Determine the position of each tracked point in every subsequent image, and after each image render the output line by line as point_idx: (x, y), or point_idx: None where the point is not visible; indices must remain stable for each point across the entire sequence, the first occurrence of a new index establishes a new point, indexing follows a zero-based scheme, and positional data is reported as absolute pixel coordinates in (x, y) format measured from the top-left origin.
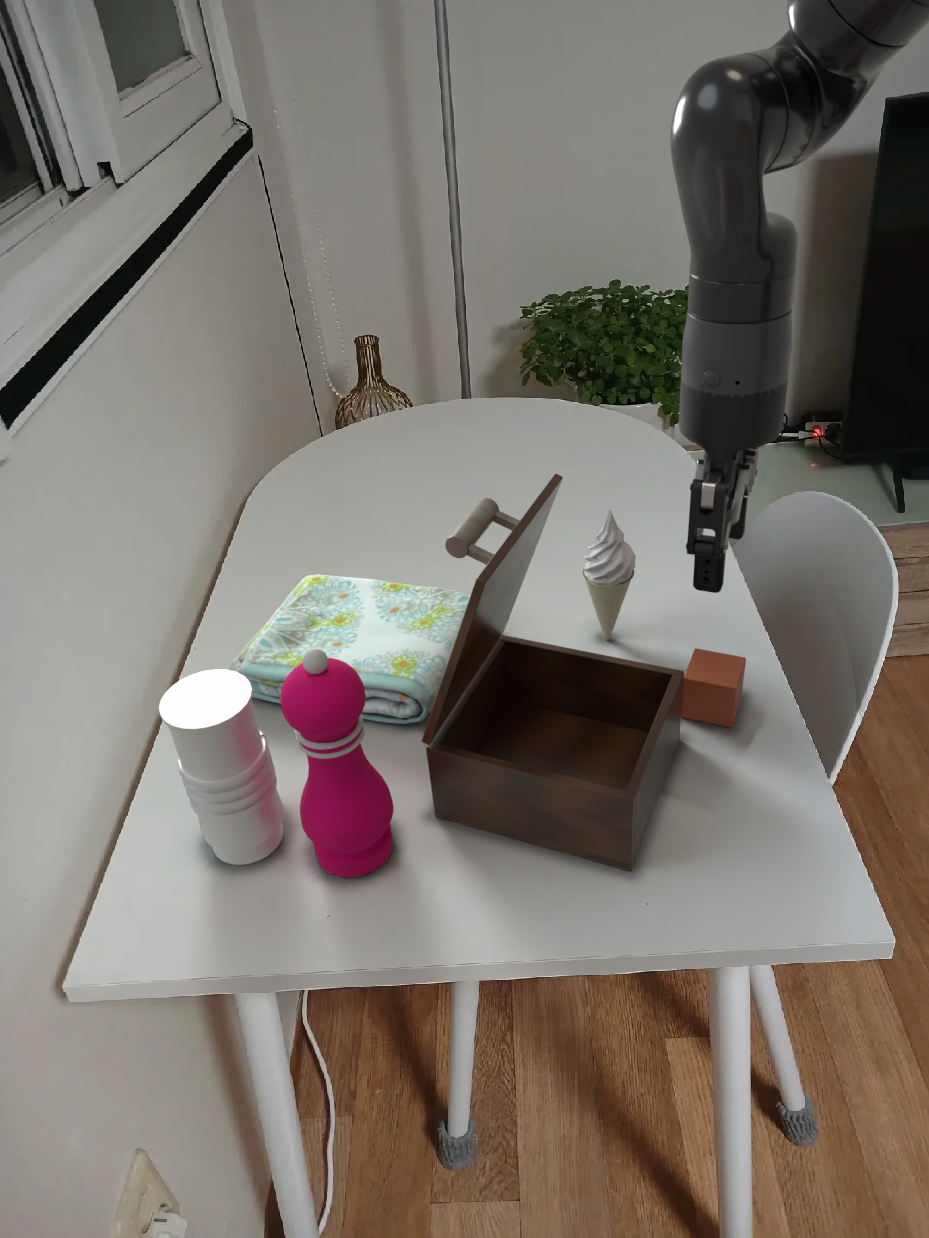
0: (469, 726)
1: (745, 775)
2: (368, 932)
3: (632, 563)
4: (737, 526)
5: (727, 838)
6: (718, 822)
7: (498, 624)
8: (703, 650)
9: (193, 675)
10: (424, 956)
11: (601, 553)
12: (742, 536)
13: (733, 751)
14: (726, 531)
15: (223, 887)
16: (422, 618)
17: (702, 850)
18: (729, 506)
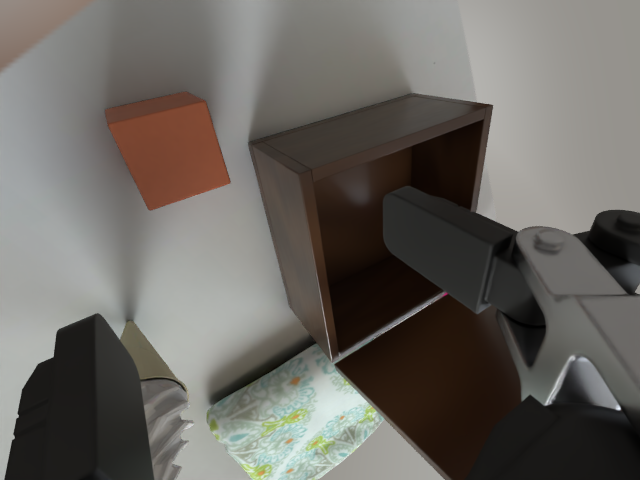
0: (396, 287)
1: (259, 34)
2: (478, 208)
3: None
4: (108, 360)
5: (354, 18)
6: (339, 38)
7: (413, 361)
8: (147, 196)
9: None
10: (486, 172)
11: (176, 444)
12: (96, 315)
13: (227, 68)
14: (611, 276)
15: None
16: (288, 423)
17: (375, 39)
18: (133, 464)
